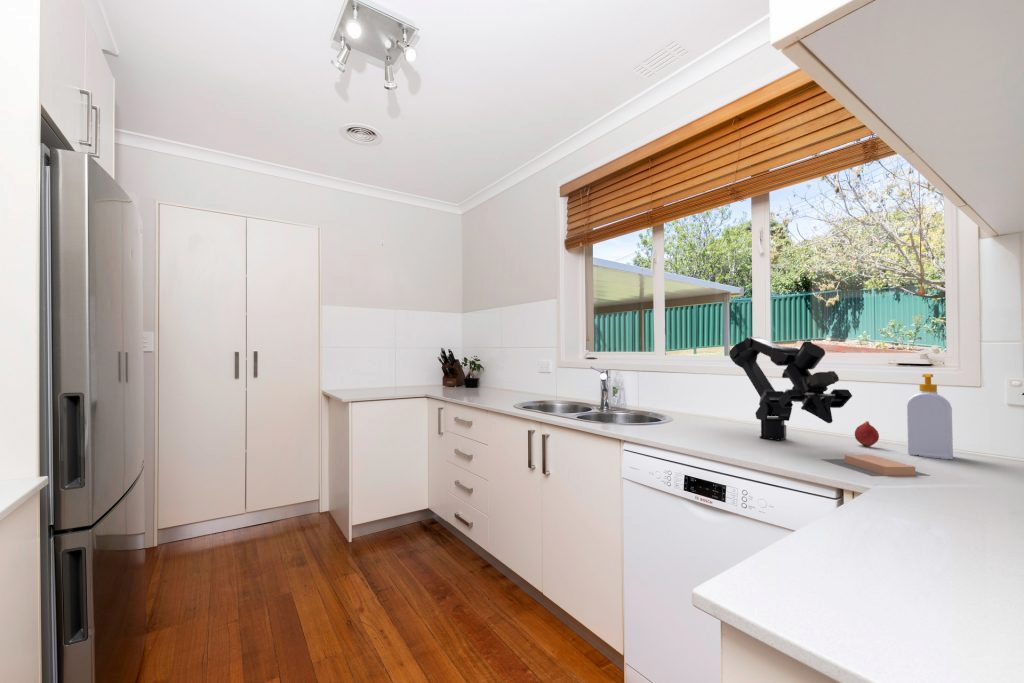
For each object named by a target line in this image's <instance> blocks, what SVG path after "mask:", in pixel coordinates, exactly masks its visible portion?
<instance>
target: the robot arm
mask: <svg viewBox="0 0 1024 683" xmlns="http://www.w3.org/2000/svg"><path fill="white" fill-rule="evenodd" d="M759 354H763V355H765V356H767V357H769V359H770V362H771V363H773V364H774V365H776V366H778V367H781V366H782V367H786V368H785V369H783V372H782V373H781V374H782V376H781V378H782V379H789V380H790V382H791V383H792V385H793V387H791V389H788V388H786V389H785V391H783V390H780V391H779V390H775V388H774V387H773V385H772V384H771V383H770V381H769V379H768V378H767V376H766V375H765V373H764V371H763V370H762V369H761V367H760V366H759V364H758V362H757V360H758V356H759ZM728 355H729V358H730V359H731V361H732V362H733V363H734V365H736V366H738V367H739V368H742V369H743V371H744V372H745V374H746V376H747V377H748V379H749V381H750V382H751V384H752V386H753V387H754V388H755V391H756V392H757V394H758V396H759V398H760V399H759V403H758V405H759V407H758V409H757V410H756V411H755V418H756V420H759V421H760V436H758V437H765V438H772V439H771V440H773V439H779V440H778V441H782V440H781V439H783V440H785V439H784V438H786V439H787V425H786V424H785V422H786V421H787V422H788V421H790V418H791V414H792V410H793V405H794V404H793V402H794V403H802V404H801V405H802V406H801V407H800V408H801V409H800V410H803V411H805V412H808V413H810V414H812V415H814V416H815V417H816V418H819V419H820V420H822V421H824V422H826V423H827V424H832V423H833V415H832V410H831V409H834V408H835V409H836V408H837V409H840V408H843V407H844V406H845V405H846V404H847V403H848V401H849V400H850V399H851V398H852V397H853V394H852V392H850V390H849V389H845V388H843V389H842V388H841V389H840V388H838V389H836V388H835V389H833V390H832V391H830V393H824V392H827V391H828V387H829V386H831V385H834V384H836V383H837V382H839V380H840V379H839V376H838V373H836V371H834V370H831V371H830V370H829V371H818V372H815V373H813V374H812V373H811V371H810V370H814V369H815V368H816V367H817V366H818V365H819V363H820V362H821V360H822V359H823V358H824V357H825V355H826V351H825V349H824V348H823V347H821V346H819V345H817V344H814V343H813V342H812V341H809V340H808V341H803V342H802V344H801V346H800V348H798V347H792V346H791V347H789V346H780V345H778V344H777V343H773V342H771V341H769V340H766V339H763V338H762V337H760V336H748V337H745V339H744V340H742V341H740V342H738V343H737V344H735V345H734V346H732V348H730V349H729V354H728ZM765 438H764V439H765Z"/></svg>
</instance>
